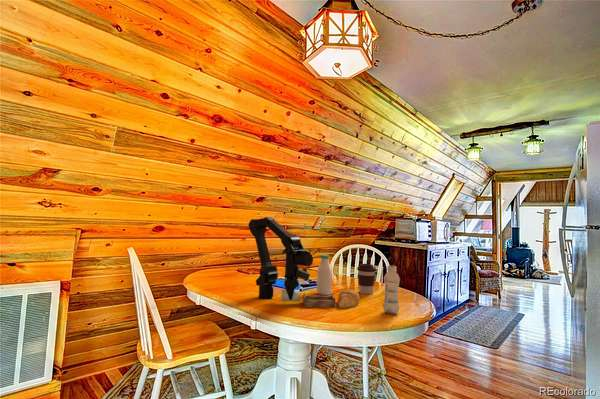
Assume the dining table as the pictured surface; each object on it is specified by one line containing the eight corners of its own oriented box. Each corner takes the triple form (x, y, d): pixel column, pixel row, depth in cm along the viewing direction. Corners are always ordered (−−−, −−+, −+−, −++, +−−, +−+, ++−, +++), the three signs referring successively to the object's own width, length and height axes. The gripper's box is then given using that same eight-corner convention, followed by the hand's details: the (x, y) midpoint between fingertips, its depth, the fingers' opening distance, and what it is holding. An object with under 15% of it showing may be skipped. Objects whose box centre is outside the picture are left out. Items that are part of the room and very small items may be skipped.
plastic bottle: (380, 310, 141) (381, 264, 142) (395, 310, 141) (396, 265, 142) (385, 315, 134) (386, 267, 135) (401, 315, 135) (402, 267, 136)
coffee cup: (354, 293, 170) (355, 265, 171) (358, 289, 179) (359, 262, 180) (373, 296, 166) (374, 266, 167) (376, 291, 175) (377, 264, 176)
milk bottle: (330, 295, 164) (331, 256, 165) (315, 294, 166) (316, 255, 166) (332, 292, 172) (333, 254, 172) (317, 291, 173) (318, 253, 174)
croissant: (346, 318, 140) (354, 303, 138) (327, 304, 144) (335, 289, 143) (361, 305, 159) (368, 292, 157) (344, 293, 163) (351, 280, 161)
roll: (281, 302, 144) (281, 291, 144) (281, 299, 149) (281, 288, 149) (299, 302, 145) (300, 291, 145) (299, 299, 150) (299, 288, 150)
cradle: (303, 306, 143) (304, 297, 143) (302, 301, 151) (303, 293, 151) (335, 307, 144) (335, 298, 144) (332, 302, 152) (332, 293, 152)
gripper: (310, 267, 139) (309, 304, 138) (307, 261, 157) (306, 293, 157) (284, 267, 138) (283, 303, 138) (285, 260, 157) (284, 292, 156)
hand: (290, 298), depth 147 cm, fingers closed on roll, 5 cm apart
